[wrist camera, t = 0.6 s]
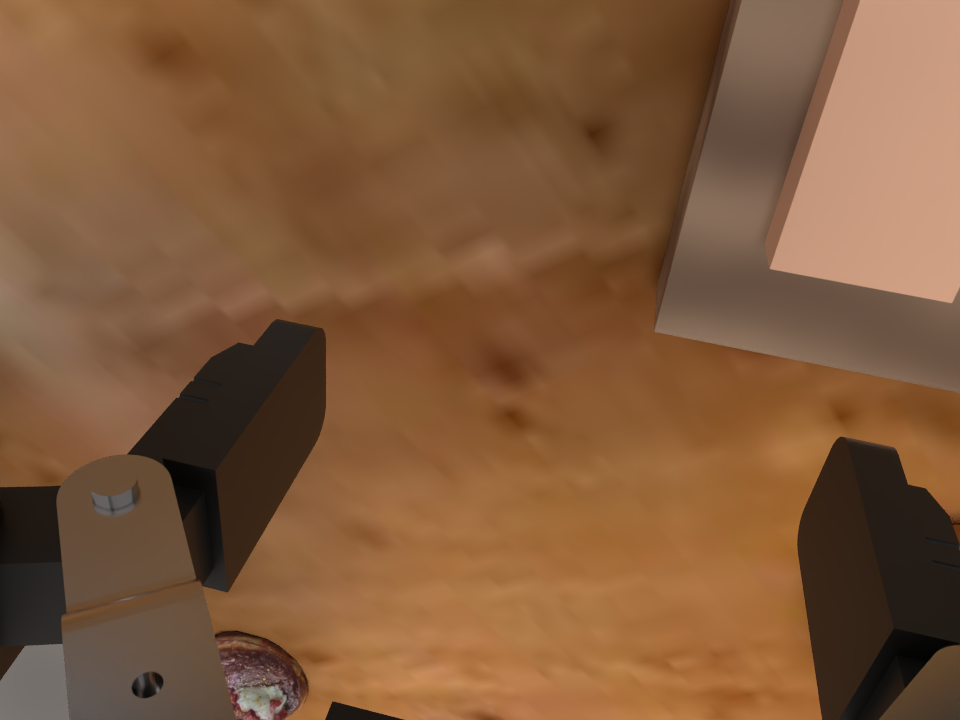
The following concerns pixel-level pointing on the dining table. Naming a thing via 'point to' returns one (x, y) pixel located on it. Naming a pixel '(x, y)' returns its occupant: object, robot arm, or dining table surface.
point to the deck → (750, 208)
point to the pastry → (260, 677)
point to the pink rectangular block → (879, 156)
